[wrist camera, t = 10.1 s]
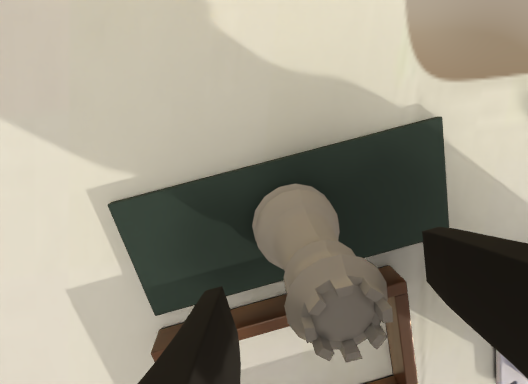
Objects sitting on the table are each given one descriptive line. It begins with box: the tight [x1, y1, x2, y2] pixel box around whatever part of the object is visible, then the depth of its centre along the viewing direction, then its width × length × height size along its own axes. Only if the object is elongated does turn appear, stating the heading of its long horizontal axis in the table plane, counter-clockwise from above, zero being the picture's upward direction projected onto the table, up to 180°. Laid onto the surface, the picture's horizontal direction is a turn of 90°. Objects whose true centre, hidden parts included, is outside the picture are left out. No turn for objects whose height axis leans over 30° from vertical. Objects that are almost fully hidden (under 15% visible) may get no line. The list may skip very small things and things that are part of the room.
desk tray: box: [151, 266, 418, 384], centre depth 17 cm, size 15×10×2 cm, turn 104°
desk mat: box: [108, 117, 449, 316], centre depth 16 cm, size 18×7×1 cm, turn 104°
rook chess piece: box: [252, 184, 393, 362], centre depth 11 cm, size 4×4×8 cm
